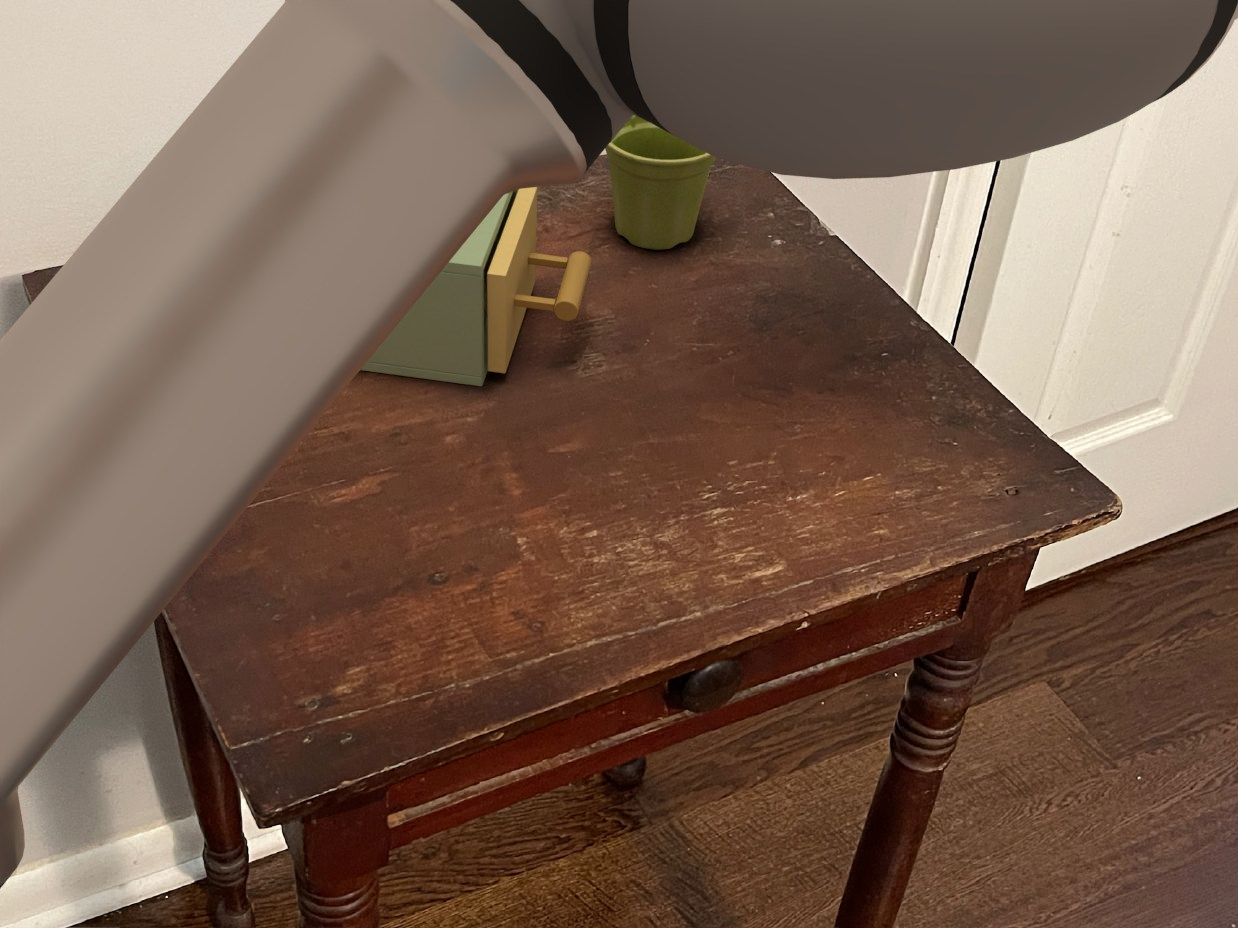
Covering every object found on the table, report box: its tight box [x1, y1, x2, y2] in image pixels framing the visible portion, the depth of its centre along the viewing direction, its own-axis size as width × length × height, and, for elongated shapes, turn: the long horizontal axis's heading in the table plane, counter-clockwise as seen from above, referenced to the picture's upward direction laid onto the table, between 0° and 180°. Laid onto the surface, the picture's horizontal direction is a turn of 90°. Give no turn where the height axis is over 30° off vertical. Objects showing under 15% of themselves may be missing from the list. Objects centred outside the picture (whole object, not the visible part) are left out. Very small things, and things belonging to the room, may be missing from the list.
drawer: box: [483, 187, 593, 374], centre depth 91 cm, size 17×11×8 cm, turn 82°
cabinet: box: [360, 189, 519, 387], centre depth 91 cm, size 14×12×10 cm
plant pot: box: [604, 115, 717, 250], centre depth 102 cm, size 9×9×9 cm
